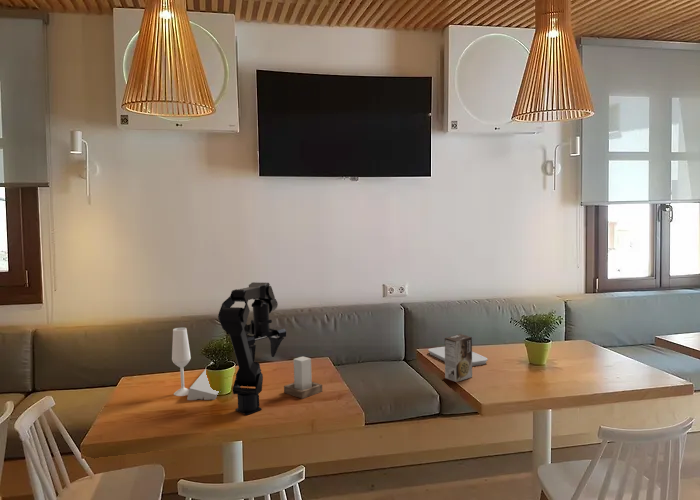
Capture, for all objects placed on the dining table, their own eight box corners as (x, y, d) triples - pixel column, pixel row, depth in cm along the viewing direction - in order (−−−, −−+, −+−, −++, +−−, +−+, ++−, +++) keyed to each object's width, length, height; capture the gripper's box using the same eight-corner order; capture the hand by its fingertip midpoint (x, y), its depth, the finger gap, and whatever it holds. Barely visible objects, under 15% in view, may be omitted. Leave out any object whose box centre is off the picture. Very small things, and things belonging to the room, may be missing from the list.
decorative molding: (234, 377, 236) (210, 371, 236) (236, 366, 235) (213, 360, 235) (213, 407, 202) (186, 400, 202) (216, 394, 201) (189, 388, 201)
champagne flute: (172, 396, 205) (169, 331, 203) (174, 390, 212) (171, 327, 210) (191, 395, 207) (188, 330, 204) (193, 389, 213) (190, 326, 211)
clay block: (302, 395, 204) (301, 361, 203) (294, 392, 207) (293, 358, 206) (311, 391, 207) (311, 358, 206) (304, 389, 210) (303, 356, 209)
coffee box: (460, 373, 225) (460, 333, 223) (472, 377, 220) (472, 336, 218) (444, 378, 220) (443, 337, 218) (456, 382, 214) (456, 340, 213)
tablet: (457, 369, 231) (457, 364, 231) (425, 353, 255) (425, 349, 255) (490, 364, 237) (490, 359, 237) (456, 349, 261) (456, 344, 261)
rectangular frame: (302, 398, 200) (302, 392, 200) (284, 392, 207) (283, 386, 207) (322, 391, 208) (322, 384, 207) (304, 385, 214) (303, 379, 214)
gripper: (267, 310, 215) (269, 350, 216) (226, 318, 201) (228, 361, 203) (286, 313, 207) (288, 355, 209) (245, 323, 194) (247, 367, 195)
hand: (262, 359), depth 204 cm, fingers open, 9 cm apart
